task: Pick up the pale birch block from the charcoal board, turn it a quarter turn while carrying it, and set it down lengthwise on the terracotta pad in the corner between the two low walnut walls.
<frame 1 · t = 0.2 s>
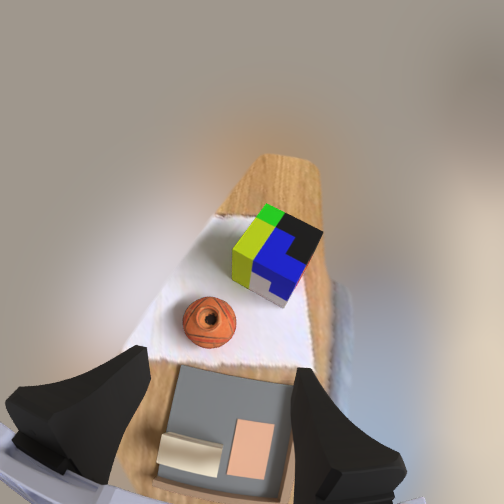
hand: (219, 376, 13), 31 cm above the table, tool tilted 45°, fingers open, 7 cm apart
pot: (210, 328, 45), on the table
birch block: (193, 451, 33), point 1 cm above the table, touching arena
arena: (231, 440, 35), on the table
puzzle toy: (271, 272, 51), on the table
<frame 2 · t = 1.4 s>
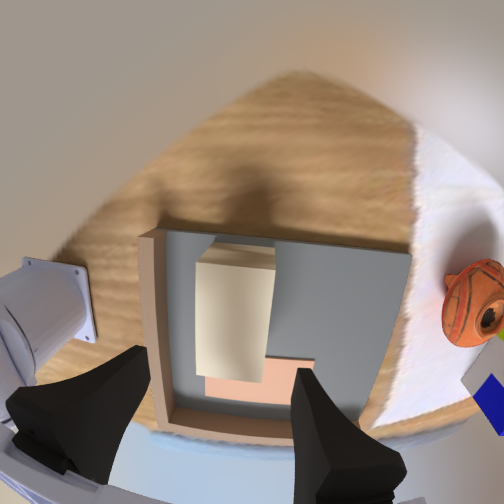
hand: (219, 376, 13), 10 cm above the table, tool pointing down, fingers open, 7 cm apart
pot: (459, 290, 21), on the table
birch block: (240, 296, 22), point 1 cm above the table, touching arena
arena: (272, 349, 24), on the table
puzzle toy: (501, 353, 23), on the table
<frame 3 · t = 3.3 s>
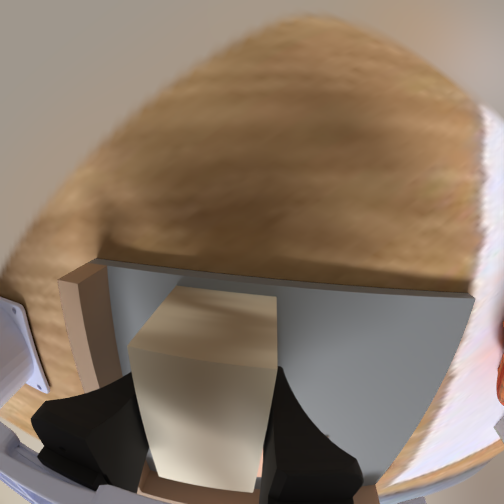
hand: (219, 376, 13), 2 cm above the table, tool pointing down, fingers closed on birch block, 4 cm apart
birch block: (222, 364, 13), point 1 cm above the table, touching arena, gripper
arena: (271, 423, 15), on the table
when the fingers open (3 cm above the table, at t = 6.6 s): birch block drops 1 cm, resting on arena.
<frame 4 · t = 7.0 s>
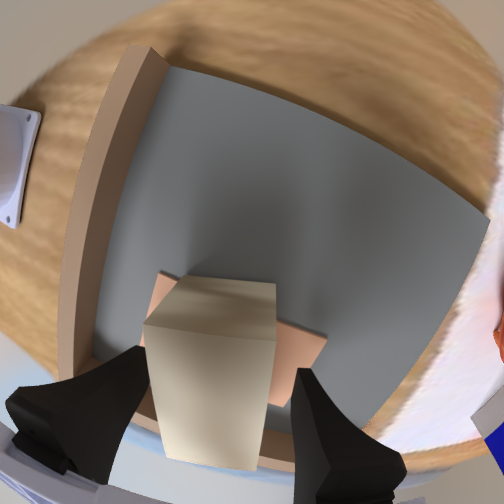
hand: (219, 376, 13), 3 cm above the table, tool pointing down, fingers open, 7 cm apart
birch block: (225, 349, 15), point 1 cm above the table, touching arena
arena: (266, 303, 15), on the table
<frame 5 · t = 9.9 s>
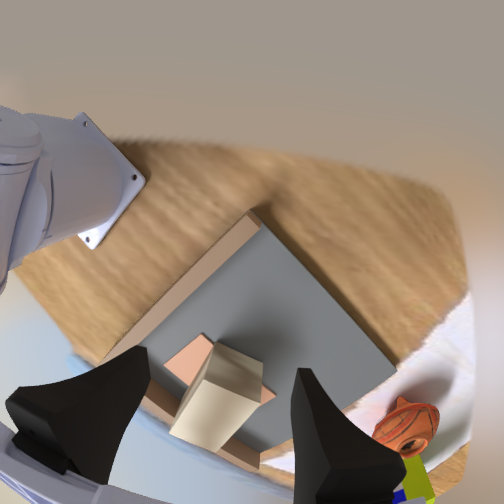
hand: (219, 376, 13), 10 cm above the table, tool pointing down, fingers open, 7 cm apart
pot: (397, 410, 26), on the table
birch block: (219, 382, 24), point 1 cm above the table, touching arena
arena: (251, 366, 24), on the table
puzzle toy: (383, 469, 29), on the table
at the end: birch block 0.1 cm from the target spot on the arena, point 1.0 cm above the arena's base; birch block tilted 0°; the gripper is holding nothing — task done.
